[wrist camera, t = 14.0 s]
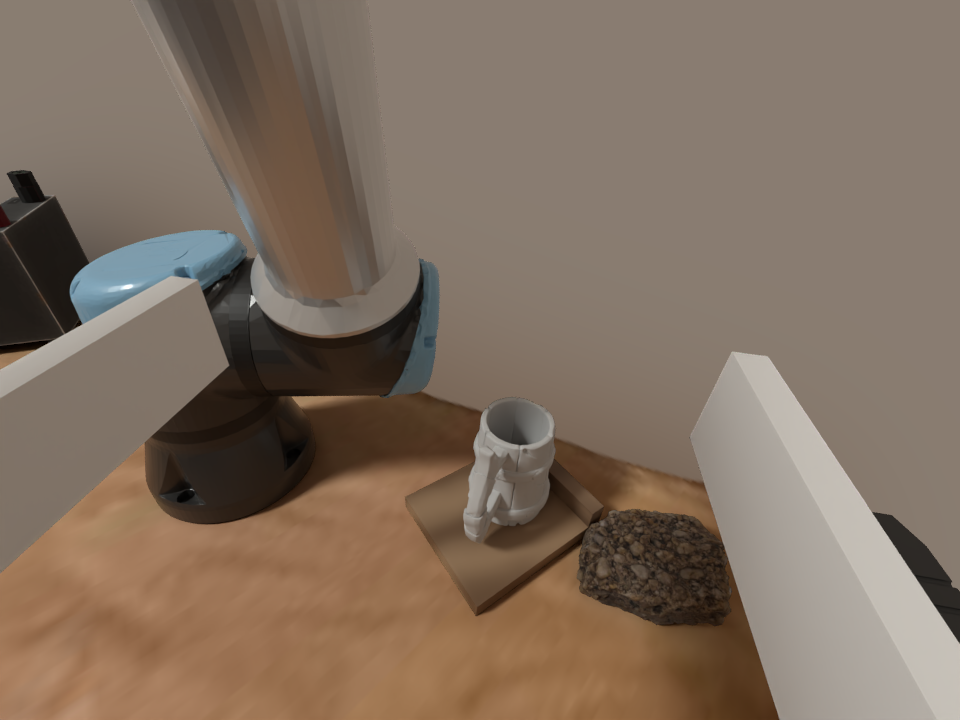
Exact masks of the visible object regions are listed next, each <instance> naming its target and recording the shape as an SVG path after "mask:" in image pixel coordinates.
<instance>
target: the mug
mask: <svg viewBox="0 0 960 720" xmlns="http://www.w3.org/2000/svg"><path fill="white" fill-rule="evenodd" d="M554 436H555V422H554V419H553V417H552V415H551V413H550V412H548V410H547V409H545V408H544V407H543V406H541V405H537V404H535V403H533V402H532V401H529V400H528V399H524V398H516V397H508V398H503V399H499V400H496V401H494V402H493V403H491V404H490V405H489V406H488V408H485V410H484V411H483V413H482V416H481V422H480V430H479V432H478V433H477V436H476V438H475V441H474V447H473V449H474V452H475V456H476V460H475V464H474V466H473V468H472V470H471V473H470V476H469V479H468V481H469V489H470V490H469V493H468V497H469V500H468V504H467V508H465V509H464V514H463V520H464V529H465V534H466V536H467V537H468V538H469V539H470V540H472V541H474V542H476V543H479V544H480V543H481V542H482V540H483V539H484V537H485V535H486V533H487V531H488V528H489V525H490V523H491V521H492V522H494V523H496V524H499V525H504V526H507V525H508V524H509V526H516V524H517V523H519V524H520V525H522V524H525V523H527V522H529V521H531V520H532V519H534V518H535V517H536V516H537V514H538V513H539V512H540V510H541V509H542V508H543V507H544V505H545V503H546V501H547V499H548V495H549V489H550V483H549V479H548V473H549V468H551V466H552V463H553V460H554V455H555V452H556V449H555V446H554V443H553V442H554Z"/></svg>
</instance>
